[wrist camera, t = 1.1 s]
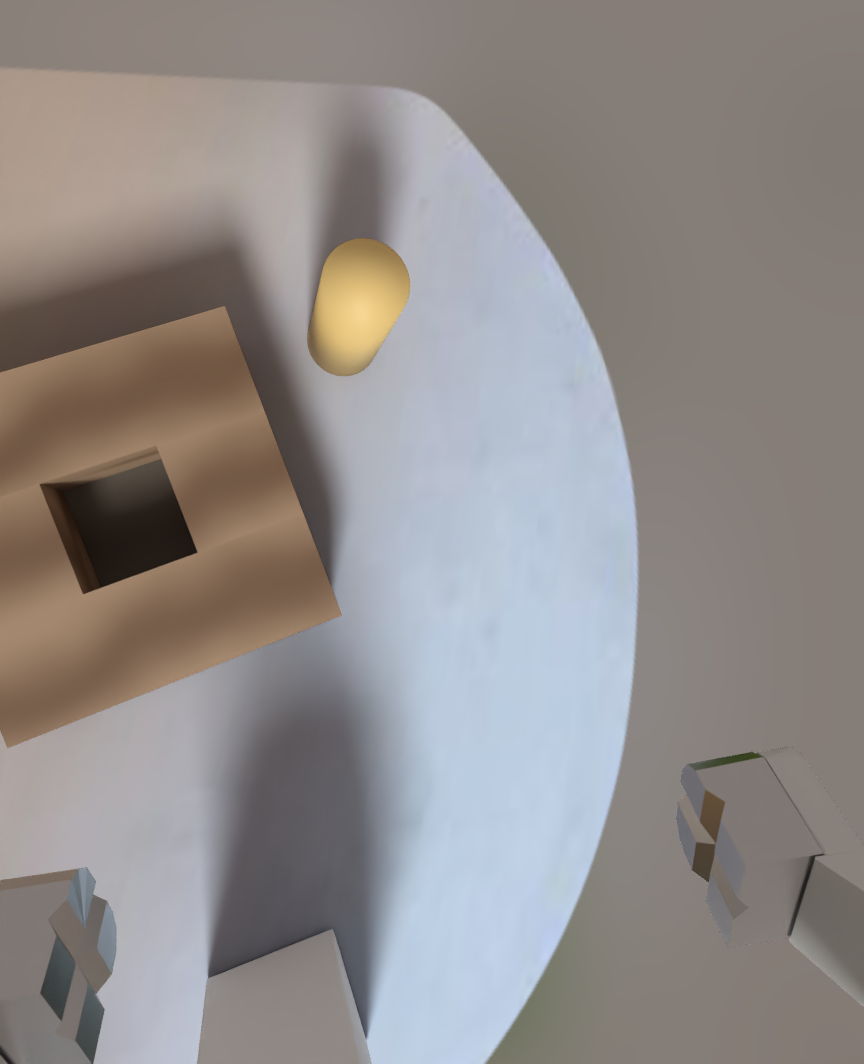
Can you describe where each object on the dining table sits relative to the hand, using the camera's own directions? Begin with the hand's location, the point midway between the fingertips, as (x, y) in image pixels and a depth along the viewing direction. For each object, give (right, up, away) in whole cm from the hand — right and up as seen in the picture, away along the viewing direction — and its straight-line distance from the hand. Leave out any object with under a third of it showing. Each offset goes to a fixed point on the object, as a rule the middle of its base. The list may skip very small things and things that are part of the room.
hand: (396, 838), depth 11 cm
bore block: (-15, +5, +31) cm, 35 cm away
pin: (-5, +15, +34) cm, 38 cm away
